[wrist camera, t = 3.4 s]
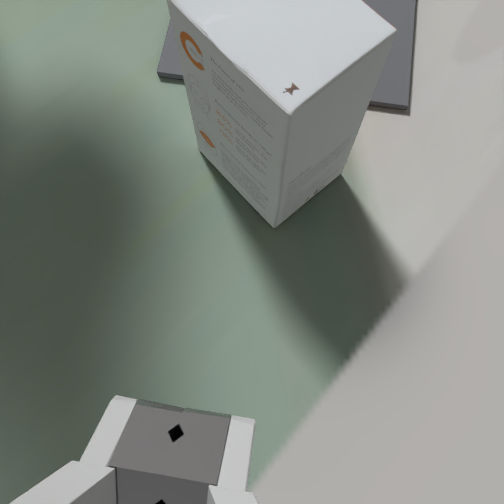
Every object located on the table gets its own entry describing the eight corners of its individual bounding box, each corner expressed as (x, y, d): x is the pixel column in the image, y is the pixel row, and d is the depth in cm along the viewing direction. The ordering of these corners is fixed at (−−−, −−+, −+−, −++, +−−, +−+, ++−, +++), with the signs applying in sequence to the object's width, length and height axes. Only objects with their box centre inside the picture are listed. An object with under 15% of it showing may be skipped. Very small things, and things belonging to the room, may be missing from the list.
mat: (158, 76, 33) (156, 71, 33) (192, -58, 37) (192, -64, 37) (405, 109, 33) (408, 105, 32) (416, -31, 36) (418, -37, 36)
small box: (343, 173, 31) (403, 29, 19) (273, 231, 30) (289, 118, 18) (264, 96, 33) (272, -82, 21) (195, 148, 32) (159, -8, 19)
